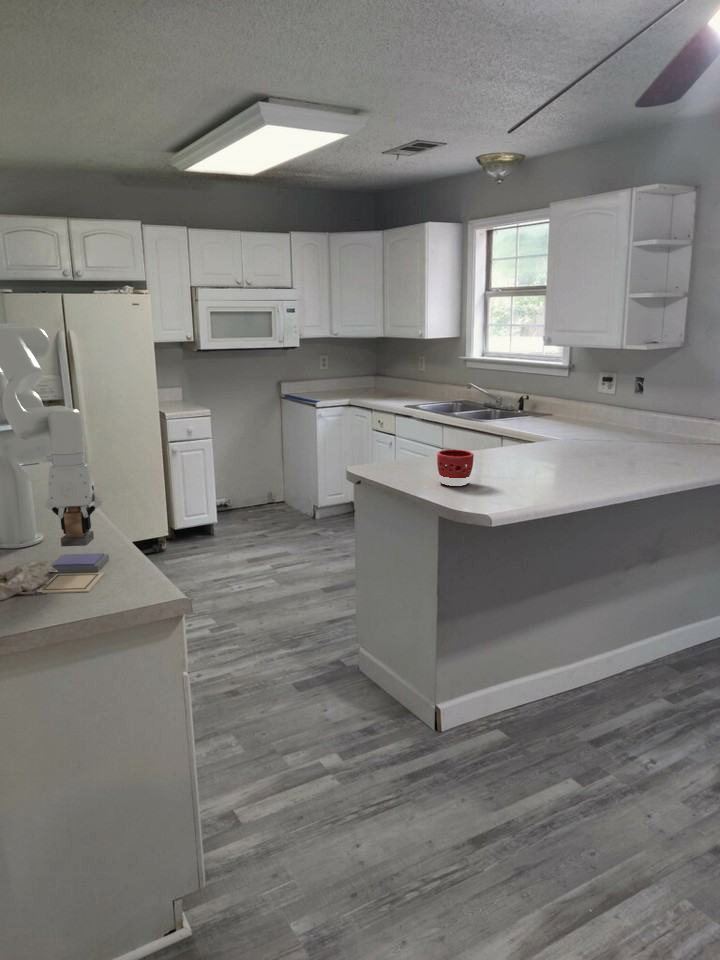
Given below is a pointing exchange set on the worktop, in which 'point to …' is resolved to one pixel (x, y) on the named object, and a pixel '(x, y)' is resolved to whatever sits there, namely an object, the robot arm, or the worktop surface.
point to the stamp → (75, 529)
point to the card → (72, 582)
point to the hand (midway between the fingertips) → (76, 531)
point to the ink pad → (80, 562)
